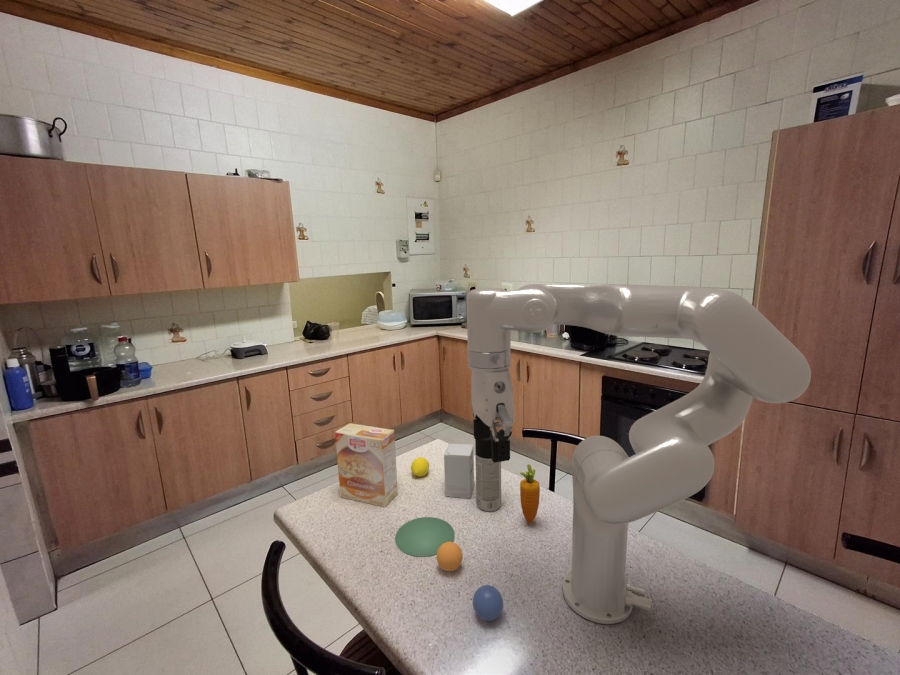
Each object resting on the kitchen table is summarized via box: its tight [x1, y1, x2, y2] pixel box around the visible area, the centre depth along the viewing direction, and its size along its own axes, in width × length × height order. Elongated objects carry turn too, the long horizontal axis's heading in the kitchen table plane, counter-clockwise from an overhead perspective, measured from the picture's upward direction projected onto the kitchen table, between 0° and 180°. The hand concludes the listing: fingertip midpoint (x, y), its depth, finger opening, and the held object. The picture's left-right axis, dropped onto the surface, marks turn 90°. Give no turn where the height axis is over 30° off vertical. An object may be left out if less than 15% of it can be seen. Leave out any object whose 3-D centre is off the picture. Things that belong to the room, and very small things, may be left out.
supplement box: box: [443, 443, 475, 499], centre depth 114 cm, size 7×7×13 cm
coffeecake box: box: [334, 422, 399, 508], centre depth 113 cm, size 15×7×20 cm, turn 67°
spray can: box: [474, 429, 502, 512], centre depth 107 cm, size 7×7×20 cm
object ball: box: [436, 541, 464, 572], centre depth 86 cm, size 6×6×6 cm
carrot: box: [519, 464, 541, 525], centre depth 99 cm, size 5×5×15 cm
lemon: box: [410, 456, 430, 478], centre depth 125 cm, size 7×5×5 cm
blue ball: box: [472, 584, 504, 622], centre depth 74 cm, size 6×6×6 cm
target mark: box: [394, 516, 456, 558], centre depth 97 cm, size 14×14×1 cm
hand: (490, 448), depth 75 cm, fingers open, 9 cm apart
